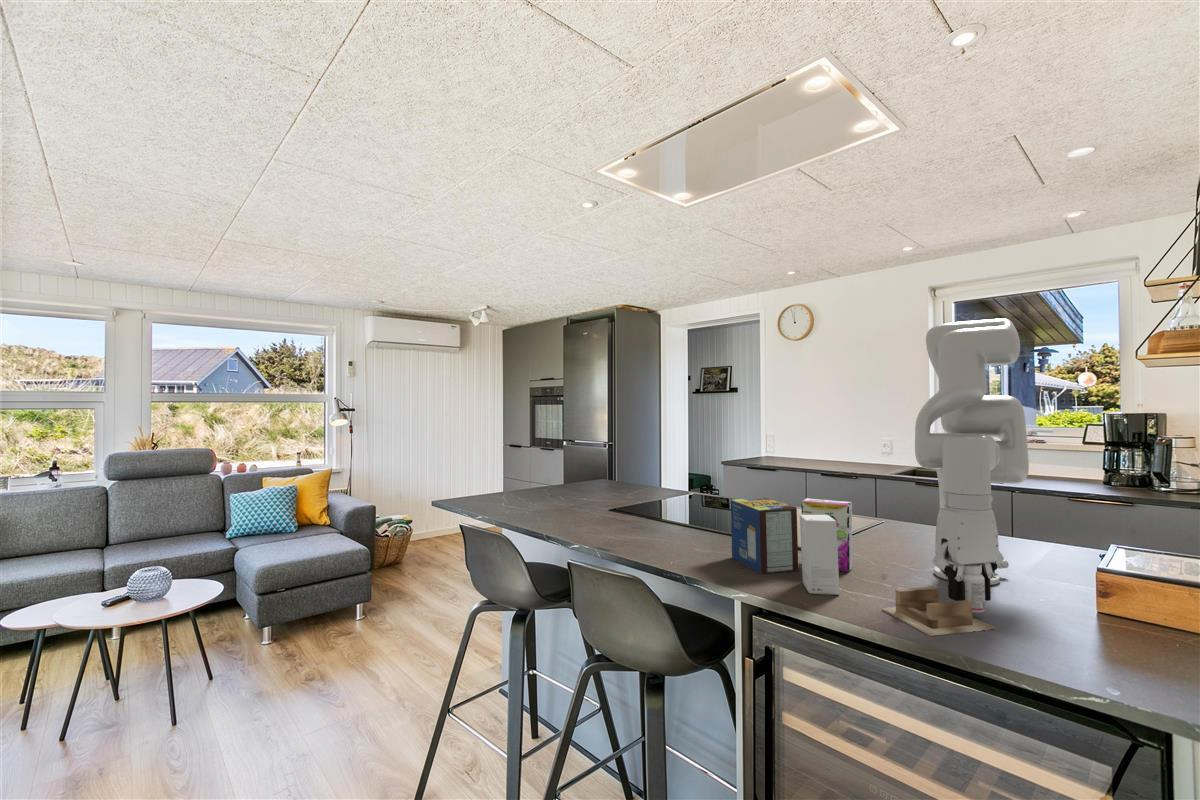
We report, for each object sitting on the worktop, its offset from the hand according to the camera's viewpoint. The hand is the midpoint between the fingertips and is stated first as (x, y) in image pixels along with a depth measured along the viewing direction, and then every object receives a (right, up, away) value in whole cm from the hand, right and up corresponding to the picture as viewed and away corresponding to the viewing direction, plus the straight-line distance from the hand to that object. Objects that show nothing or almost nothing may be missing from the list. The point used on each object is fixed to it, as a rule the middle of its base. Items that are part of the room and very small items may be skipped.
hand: (969, 598), depth 100 cm
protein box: (-28, -5, +36) cm, 46 cm away
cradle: (-7, -3, -1) cm, 8 cm away
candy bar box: (-13, -4, +32) cm, 35 cm away
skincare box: (-21, -4, +16) cm, 27 cm away
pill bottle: (0, -2, 0) cm, 2 cm away
